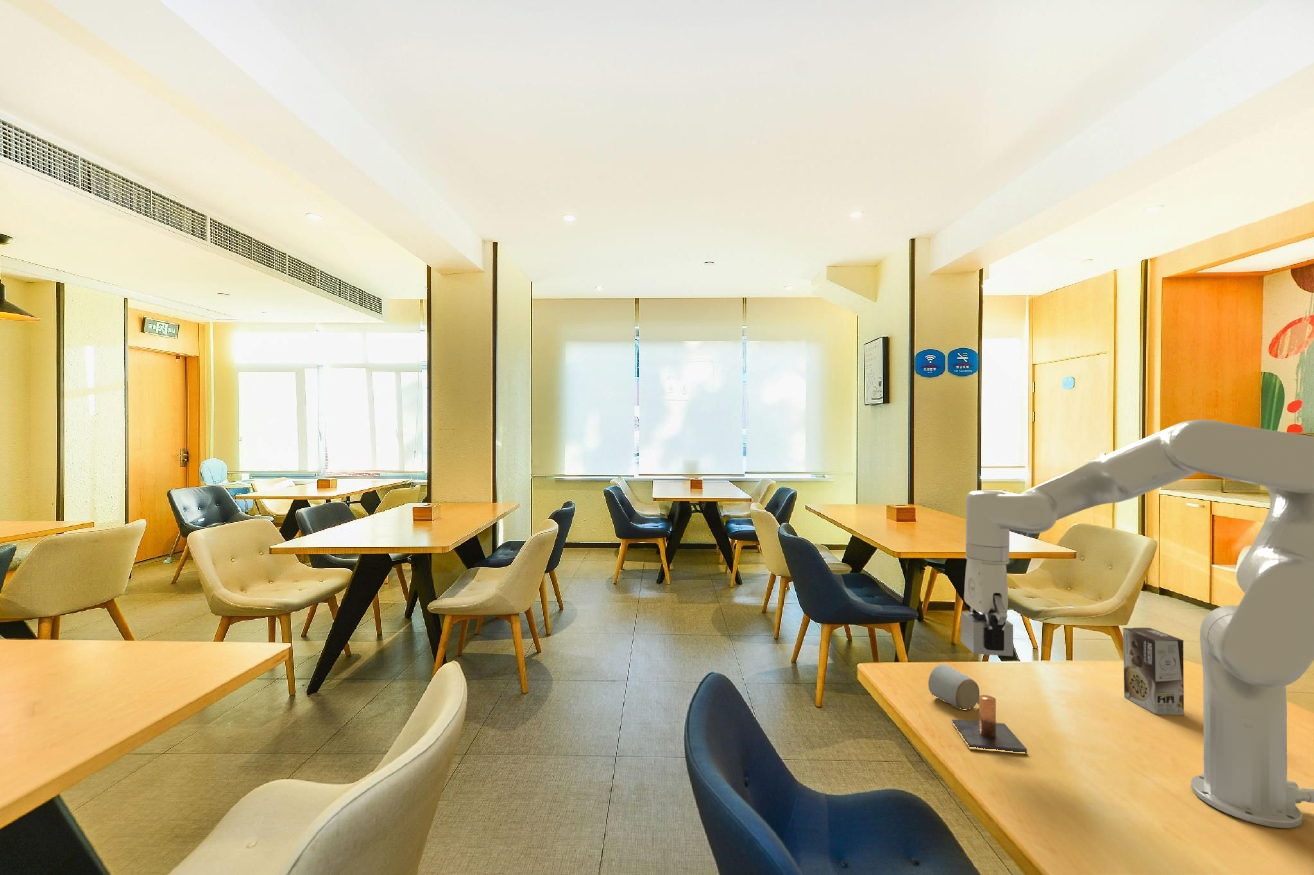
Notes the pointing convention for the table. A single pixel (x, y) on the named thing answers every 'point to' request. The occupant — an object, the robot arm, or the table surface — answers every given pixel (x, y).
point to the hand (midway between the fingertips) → (986, 642)
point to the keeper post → (988, 729)
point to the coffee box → (1154, 670)
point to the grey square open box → (983, 634)
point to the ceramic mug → (953, 687)
